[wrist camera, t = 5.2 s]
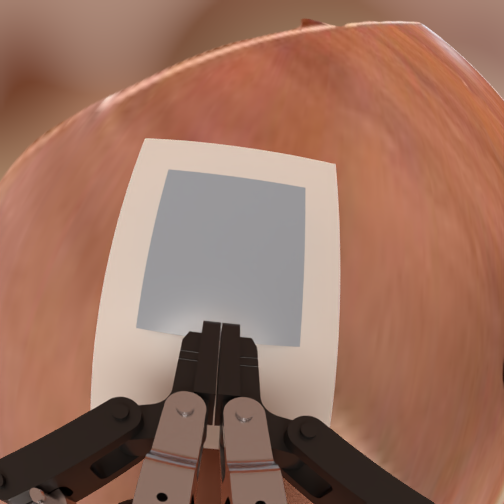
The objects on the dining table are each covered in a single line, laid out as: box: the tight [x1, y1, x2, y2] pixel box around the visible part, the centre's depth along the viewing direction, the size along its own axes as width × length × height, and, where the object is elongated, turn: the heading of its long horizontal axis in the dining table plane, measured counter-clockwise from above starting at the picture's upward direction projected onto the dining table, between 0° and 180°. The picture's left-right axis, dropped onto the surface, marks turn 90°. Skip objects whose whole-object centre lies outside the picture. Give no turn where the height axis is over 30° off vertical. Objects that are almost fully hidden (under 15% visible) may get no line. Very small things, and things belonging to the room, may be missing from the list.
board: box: [91, 138, 340, 449], centre depth 18 cm, size 22×16×1 cm
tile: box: [136, 169, 305, 347], centre depth 17 cm, size 2×9×10 cm
